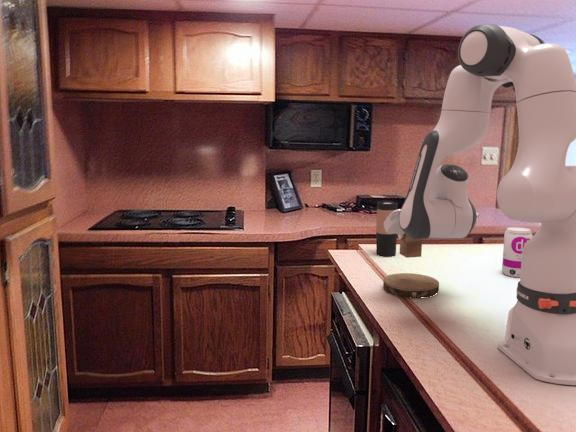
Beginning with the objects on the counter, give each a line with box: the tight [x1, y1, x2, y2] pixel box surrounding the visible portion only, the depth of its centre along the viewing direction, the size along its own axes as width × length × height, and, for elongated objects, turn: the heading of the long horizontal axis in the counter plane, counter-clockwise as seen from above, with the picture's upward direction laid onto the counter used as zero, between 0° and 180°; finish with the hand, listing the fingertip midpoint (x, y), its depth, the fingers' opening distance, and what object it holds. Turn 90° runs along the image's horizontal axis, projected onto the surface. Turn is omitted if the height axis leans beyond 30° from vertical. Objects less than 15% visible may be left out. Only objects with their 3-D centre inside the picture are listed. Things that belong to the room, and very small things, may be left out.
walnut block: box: [399, 234, 423, 258], centre depth 146 cm, size 5×5×10 cm
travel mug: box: [375, 200, 399, 258], centre depth 188 cm, size 8×8×20 cm
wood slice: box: [382, 272, 440, 299], centre depth 148 cm, size 16×16×3 cm
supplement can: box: [501, 226, 534, 279], centre depth 161 cm, size 8×8×15 cm
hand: (410, 236), depth 147 cm, fingers closed on walnut block, 5 cm apart
